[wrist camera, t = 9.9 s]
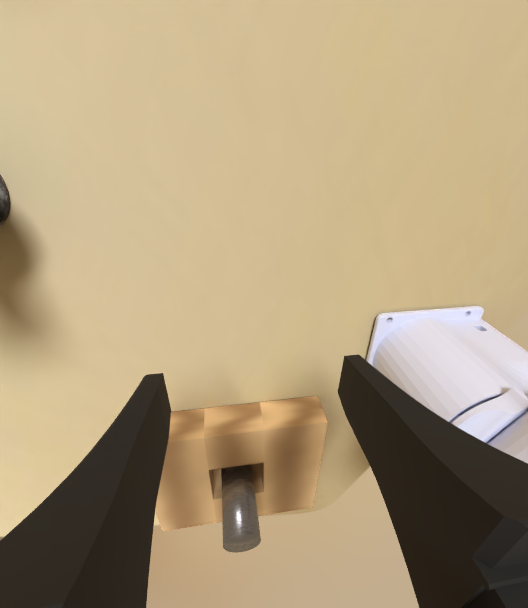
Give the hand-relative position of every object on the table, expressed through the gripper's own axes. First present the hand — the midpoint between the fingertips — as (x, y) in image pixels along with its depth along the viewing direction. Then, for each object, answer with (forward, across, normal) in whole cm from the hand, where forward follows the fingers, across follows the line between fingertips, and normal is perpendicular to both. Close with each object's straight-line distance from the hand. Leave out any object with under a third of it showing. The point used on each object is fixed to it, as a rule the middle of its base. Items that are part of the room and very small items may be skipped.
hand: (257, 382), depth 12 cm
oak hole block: (+10, +1, +20) cm, 23 cm away
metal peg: (+10, +1, +20) cm, 22 cm away
